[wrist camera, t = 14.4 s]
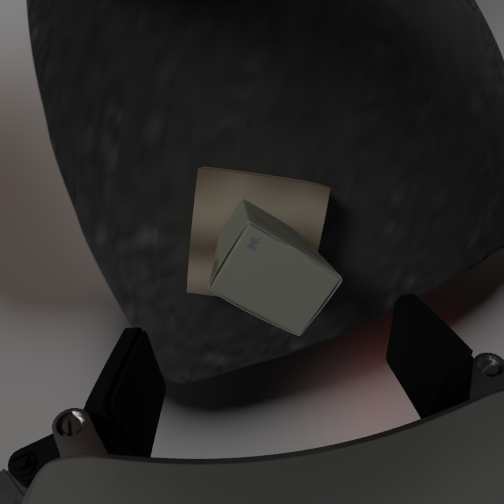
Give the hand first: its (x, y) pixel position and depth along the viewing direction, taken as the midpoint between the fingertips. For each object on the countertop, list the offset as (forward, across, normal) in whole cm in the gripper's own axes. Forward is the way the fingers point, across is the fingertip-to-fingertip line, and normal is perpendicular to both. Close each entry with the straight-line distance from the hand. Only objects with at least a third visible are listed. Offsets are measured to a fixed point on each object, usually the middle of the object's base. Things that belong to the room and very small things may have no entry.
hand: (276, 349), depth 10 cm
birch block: (+23, 0, +2) cm, 23 cm away
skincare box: (+18, -1, +1) cm, 18 cm away
